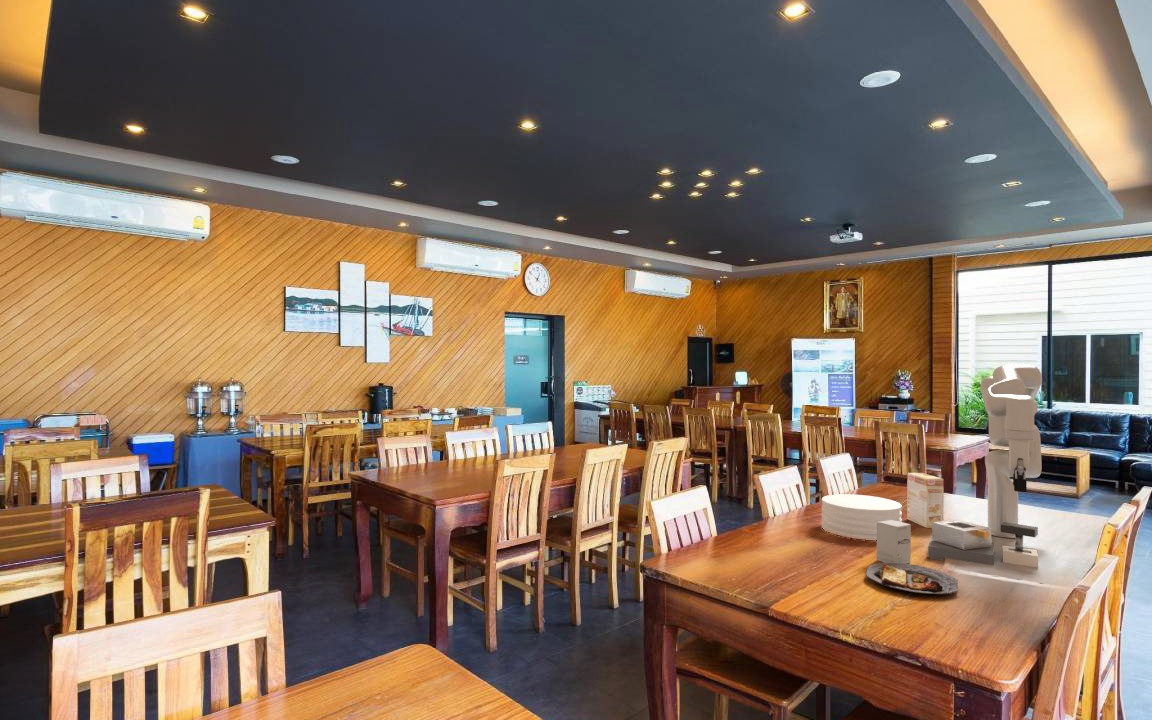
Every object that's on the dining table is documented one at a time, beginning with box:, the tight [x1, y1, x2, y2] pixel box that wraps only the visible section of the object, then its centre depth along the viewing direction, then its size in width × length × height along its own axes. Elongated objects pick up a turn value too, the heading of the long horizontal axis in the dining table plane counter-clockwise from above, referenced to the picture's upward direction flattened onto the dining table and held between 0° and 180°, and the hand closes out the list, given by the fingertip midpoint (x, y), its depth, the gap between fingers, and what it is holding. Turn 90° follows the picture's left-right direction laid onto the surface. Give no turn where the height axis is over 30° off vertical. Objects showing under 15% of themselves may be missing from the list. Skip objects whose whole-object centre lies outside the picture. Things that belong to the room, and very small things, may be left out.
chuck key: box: [1001, 522, 1039, 552], centre depth 200 cm, size 5×9×11 cm, turn 44°
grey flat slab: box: [927, 536, 995, 566], centre depth 209 cm, size 18×18×4 cm
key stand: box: [1002, 545, 1039, 568], centre depth 200 cm, size 8×9×4 cm
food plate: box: [865, 562, 959, 596], centre depth 181 cm, size 25×23×4 cm
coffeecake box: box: [906, 472, 945, 529], centre depth 252 cm, size 15×7×20 cm, turn 179°
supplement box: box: [876, 520, 912, 564], centre depth 202 cm, size 7×7×13 cm
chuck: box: [931, 519, 992, 550], centre depth 207 cm, size 15×12×6 cm
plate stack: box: [821, 493, 903, 540], centre depth 240 cm, size 28×28×12 cm
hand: (1019, 488), depth 200 cm, fingers open, 9 cm apart
